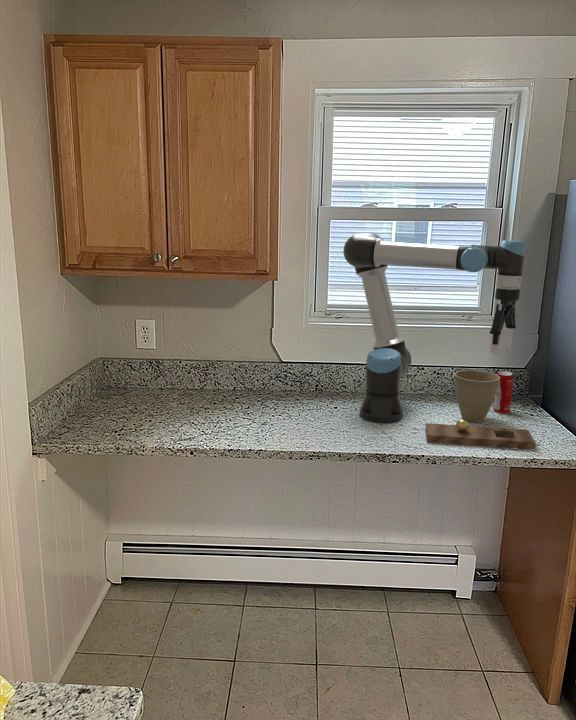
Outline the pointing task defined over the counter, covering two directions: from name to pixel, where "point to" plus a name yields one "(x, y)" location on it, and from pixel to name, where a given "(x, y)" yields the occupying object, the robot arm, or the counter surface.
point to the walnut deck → (480, 436)
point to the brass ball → (462, 425)
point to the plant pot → (475, 393)
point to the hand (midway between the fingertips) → (500, 350)
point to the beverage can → (503, 393)
